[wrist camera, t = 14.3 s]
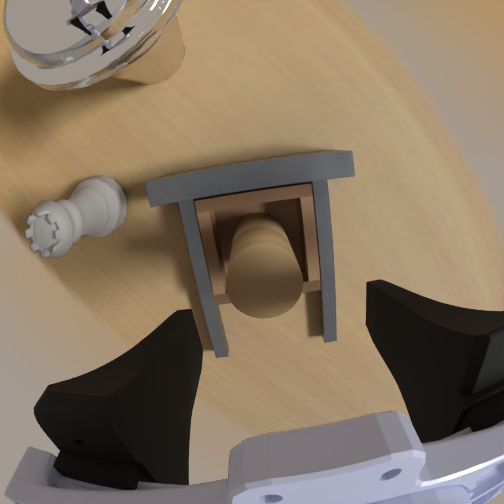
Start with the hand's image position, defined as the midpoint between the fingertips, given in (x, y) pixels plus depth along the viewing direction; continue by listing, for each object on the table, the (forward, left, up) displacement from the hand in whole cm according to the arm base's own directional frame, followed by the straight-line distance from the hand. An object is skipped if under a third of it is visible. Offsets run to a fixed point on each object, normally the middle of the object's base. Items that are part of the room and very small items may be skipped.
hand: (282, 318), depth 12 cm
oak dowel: (+1, +1, -10) cm, 10 cm away
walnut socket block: (+1, +1, -10) cm, 10 cm away
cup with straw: (+15, +6, -10) cm, 19 cm away
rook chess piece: (+5, +12, -10) cm, 16 cm away
